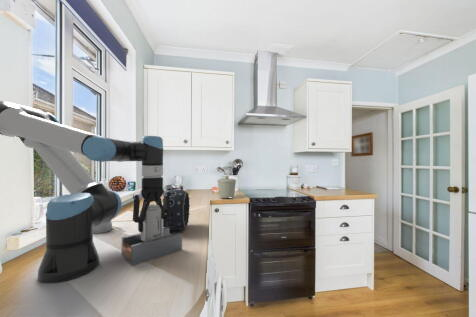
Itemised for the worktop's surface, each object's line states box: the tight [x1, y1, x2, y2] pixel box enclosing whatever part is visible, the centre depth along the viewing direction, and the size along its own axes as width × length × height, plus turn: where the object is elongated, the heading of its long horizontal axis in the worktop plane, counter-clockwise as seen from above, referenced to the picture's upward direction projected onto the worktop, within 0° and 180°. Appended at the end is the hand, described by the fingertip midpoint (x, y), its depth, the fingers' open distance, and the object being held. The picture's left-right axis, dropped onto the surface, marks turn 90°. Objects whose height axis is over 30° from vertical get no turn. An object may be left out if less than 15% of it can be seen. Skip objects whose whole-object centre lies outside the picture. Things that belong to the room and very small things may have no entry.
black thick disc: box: [161, 189, 191, 232], centre depth 107 cm, size 11×20×20 cm, turn 4°
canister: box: [216, 175, 237, 199], centre depth 199 cm, size 18×18×21 cm
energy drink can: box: [144, 204, 161, 242], centre depth 81 cm, size 6×6×15 cm
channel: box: [121, 227, 183, 266], centre depth 81 cm, size 18×12×6 cm, turn 134°
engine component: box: [93, 219, 113, 234], centre depth 108 cm, size 11×20×10 cm
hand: (152, 237), depth 81 cm, fingers closed on energy drink can, 6 cm apart
